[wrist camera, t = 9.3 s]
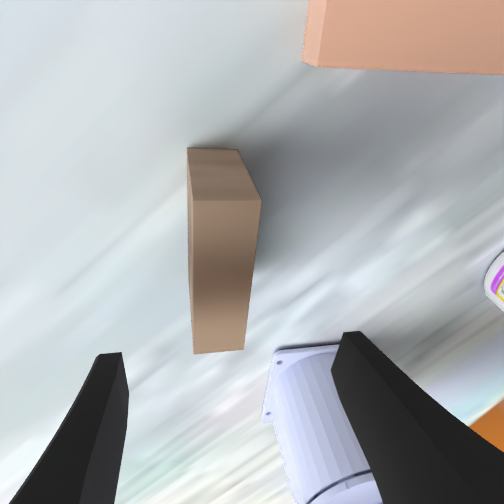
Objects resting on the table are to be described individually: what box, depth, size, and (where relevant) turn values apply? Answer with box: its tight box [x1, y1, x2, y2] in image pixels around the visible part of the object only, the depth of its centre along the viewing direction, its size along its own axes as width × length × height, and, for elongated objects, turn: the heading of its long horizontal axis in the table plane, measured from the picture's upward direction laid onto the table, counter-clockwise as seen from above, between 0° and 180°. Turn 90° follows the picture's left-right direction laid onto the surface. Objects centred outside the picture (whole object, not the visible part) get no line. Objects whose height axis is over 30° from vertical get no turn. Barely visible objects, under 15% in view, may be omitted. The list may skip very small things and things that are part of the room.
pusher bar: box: [187, 148, 262, 354], centre depth 16 cm, size 8×2×6 cm, turn 174°
